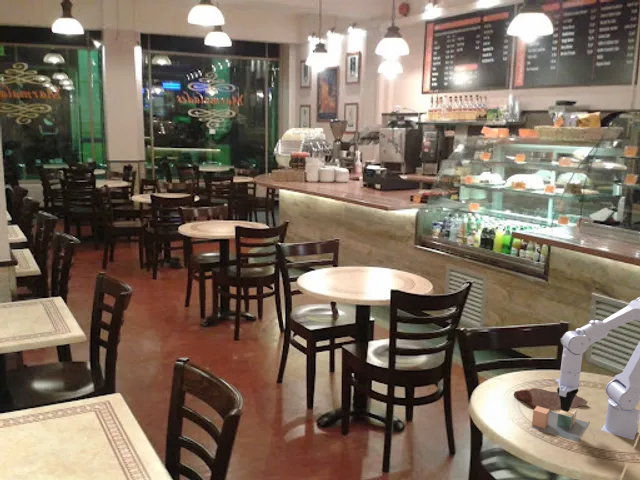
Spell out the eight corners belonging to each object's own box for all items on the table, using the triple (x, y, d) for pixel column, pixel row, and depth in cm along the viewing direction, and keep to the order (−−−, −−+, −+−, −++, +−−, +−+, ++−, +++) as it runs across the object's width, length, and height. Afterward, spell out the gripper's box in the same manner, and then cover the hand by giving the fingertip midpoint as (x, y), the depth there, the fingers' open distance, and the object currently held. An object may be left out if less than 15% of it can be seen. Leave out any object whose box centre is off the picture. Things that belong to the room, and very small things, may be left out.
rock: (594, 407, 213) (584, 379, 218) (530, 411, 208) (521, 383, 213) (579, 417, 221) (570, 390, 226) (518, 421, 216) (509, 394, 222)
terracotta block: (548, 424, 200) (549, 409, 199) (544, 428, 197) (546, 413, 196) (535, 420, 202) (537, 405, 201) (531, 424, 199) (533, 410, 198)
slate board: (589, 424, 202) (589, 422, 202) (577, 443, 190) (577, 441, 189) (545, 411, 210) (545, 410, 210) (531, 429, 197) (531, 427, 197)
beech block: (569, 429, 197) (575, 421, 203) (571, 417, 197) (576, 409, 202) (556, 425, 200) (562, 417, 205) (558, 413, 199) (563, 406, 204)
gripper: (563, 360, 202) (558, 399, 205) (551, 373, 191) (545, 414, 193) (586, 365, 199) (580, 405, 201) (575, 379, 187) (569, 421, 189)
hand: (565, 410), depth 197 cm, fingers closed
